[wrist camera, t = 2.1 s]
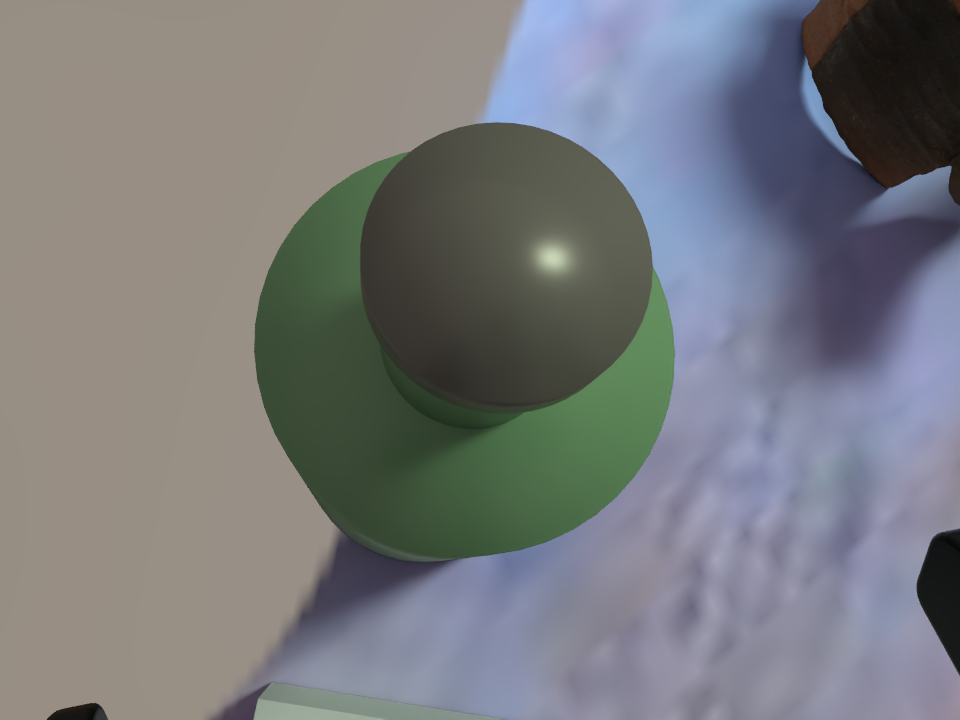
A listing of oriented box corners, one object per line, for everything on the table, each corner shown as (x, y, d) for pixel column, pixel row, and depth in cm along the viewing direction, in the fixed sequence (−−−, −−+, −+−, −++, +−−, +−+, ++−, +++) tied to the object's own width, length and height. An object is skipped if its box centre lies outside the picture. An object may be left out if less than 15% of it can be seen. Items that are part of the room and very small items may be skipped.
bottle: (522, 581, 20) (757, 598, 8) (277, 538, 19) (144, 487, 7) (558, 348, 21) (800, 71, 9) (330, 303, 21) (288, -48, 9)
